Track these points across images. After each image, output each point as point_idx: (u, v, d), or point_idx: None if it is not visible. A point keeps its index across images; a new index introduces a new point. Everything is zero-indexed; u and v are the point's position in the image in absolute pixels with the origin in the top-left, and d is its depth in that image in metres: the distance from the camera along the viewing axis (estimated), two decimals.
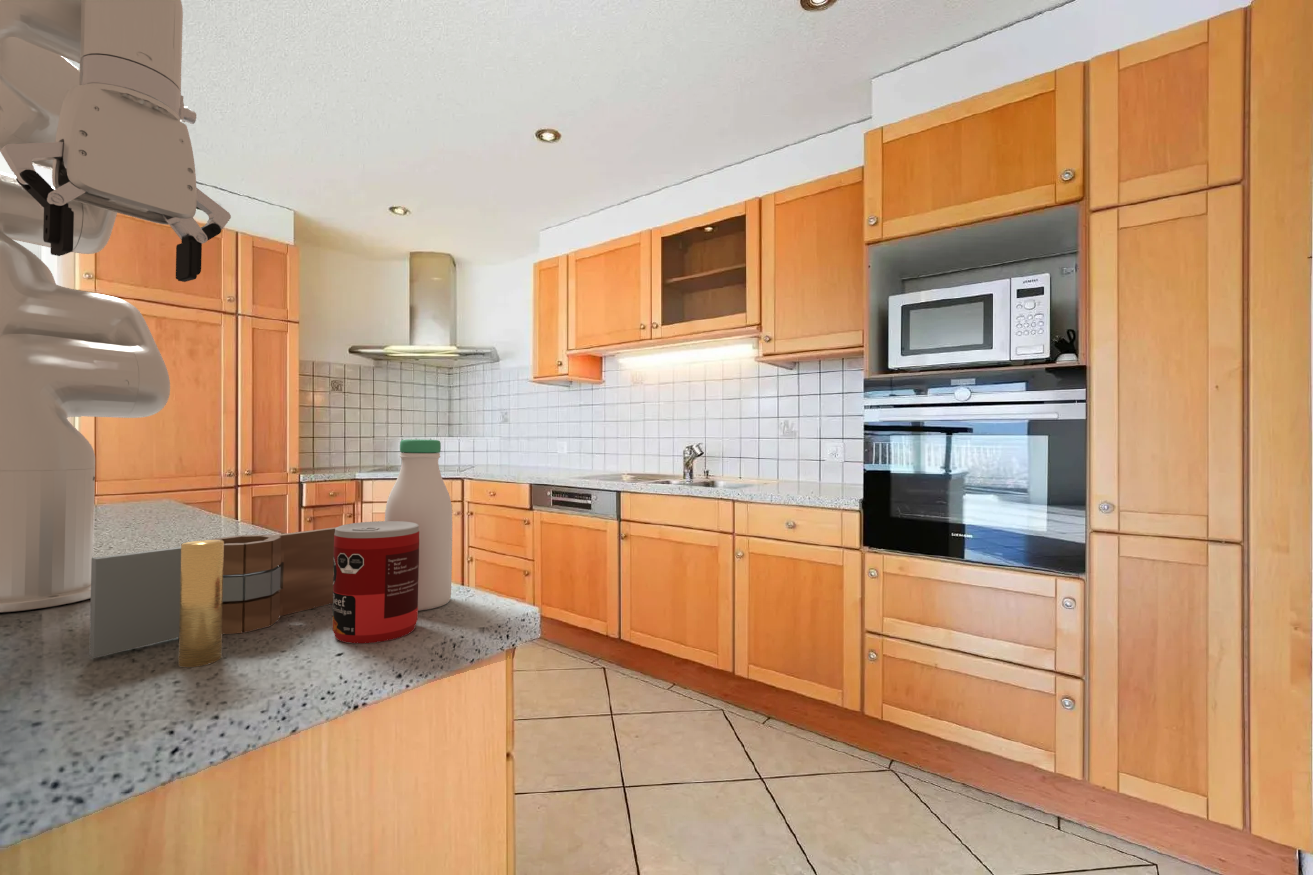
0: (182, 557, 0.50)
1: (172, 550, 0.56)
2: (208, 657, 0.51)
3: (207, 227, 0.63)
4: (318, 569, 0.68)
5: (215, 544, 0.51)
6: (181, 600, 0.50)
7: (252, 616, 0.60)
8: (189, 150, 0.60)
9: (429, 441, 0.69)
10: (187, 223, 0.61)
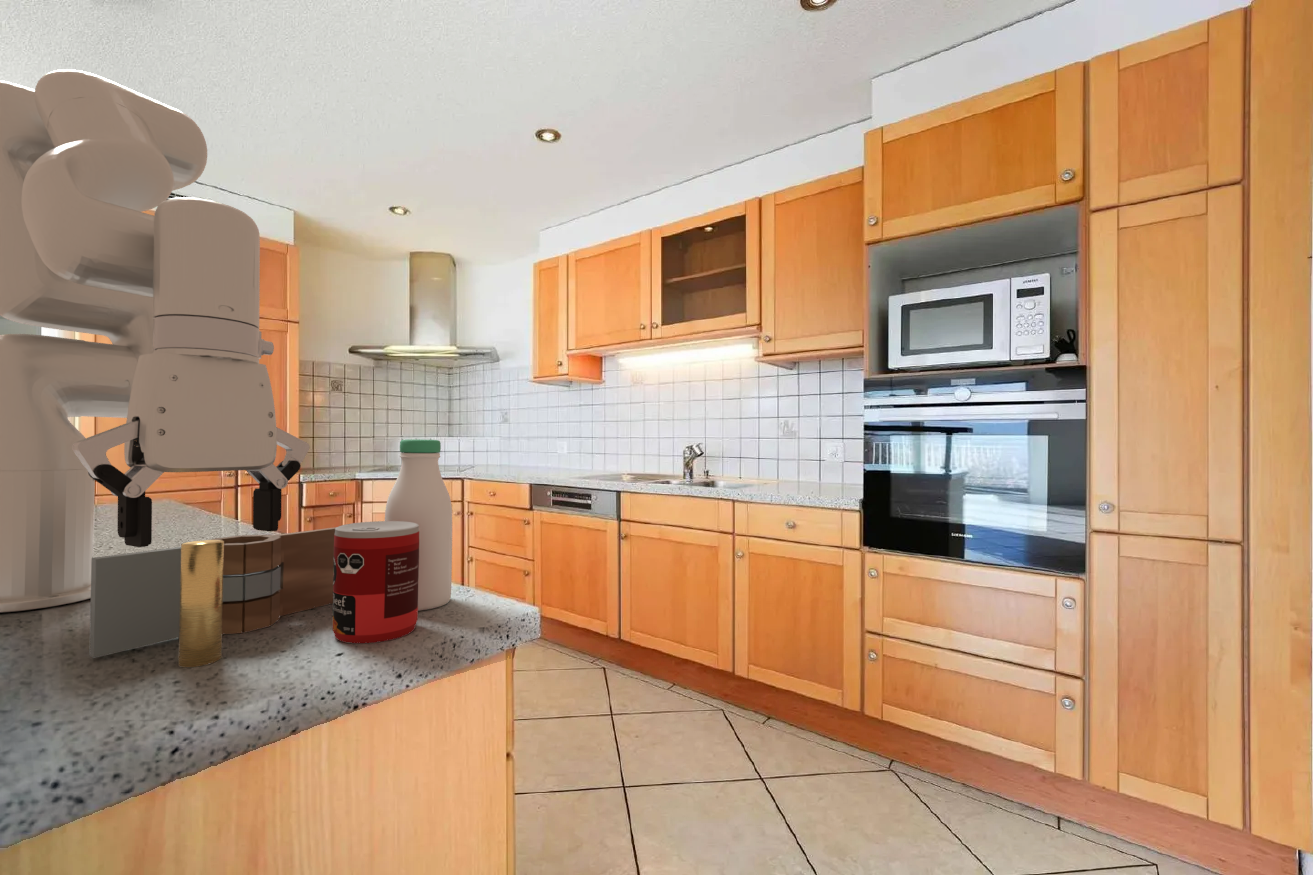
0: (182, 557, 0.50)
1: (172, 550, 0.56)
2: (208, 657, 0.51)
3: (286, 467, 0.57)
4: (318, 569, 0.68)
5: (215, 544, 0.51)
6: (181, 600, 0.50)
7: (252, 616, 0.60)
8: (269, 392, 0.54)
9: (429, 441, 0.69)
10: (267, 471, 0.55)
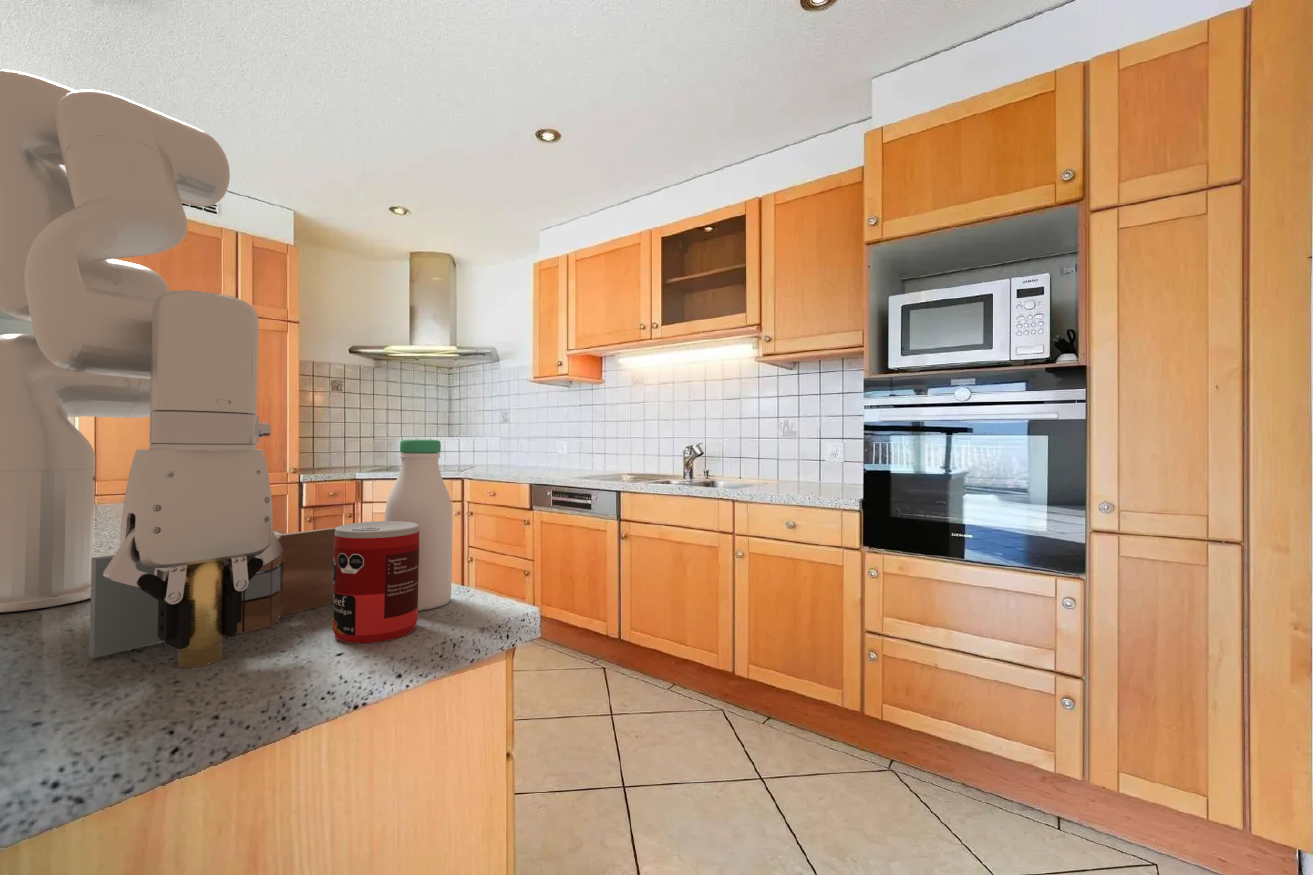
0: None
1: None
2: (208, 657, 0.51)
3: (248, 566, 0.54)
4: (318, 569, 0.68)
5: None
6: None
7: (252, 616, 0.60)
8: (265, 477, 0.54)
9: (429, 441, 0.69)
10: (236, 567, 0.53)
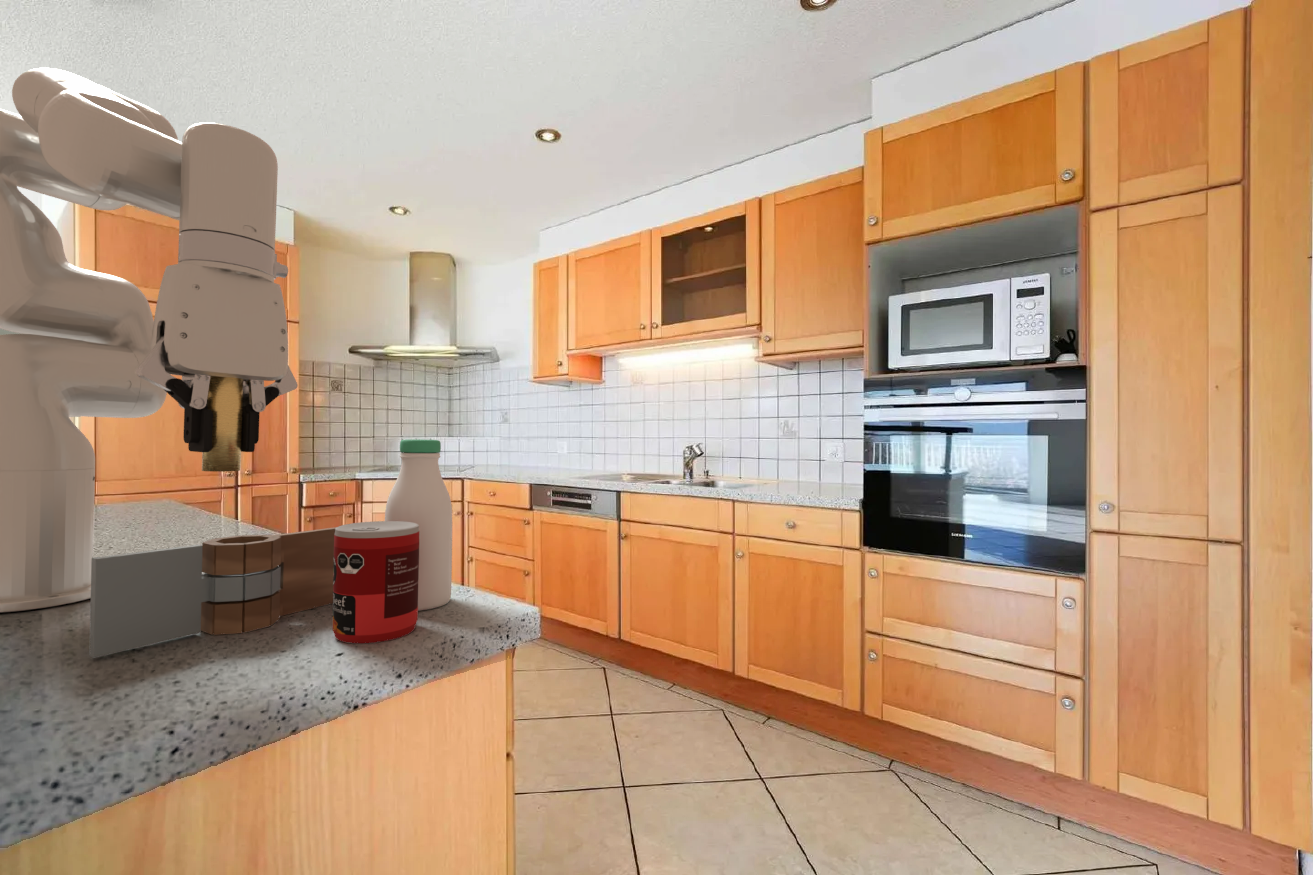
0: None
1: (172, 550, 0.56)
2: (228, 465, 0.55)
3: (265, 392, 0.59)
4: (318, 569, 0.68)
5: None
6: None
7: (252, 616, 0.60)
8: (282, 310, 0.59)
9: (429, 441, 0.69)
10: (255, 389, 0.57)
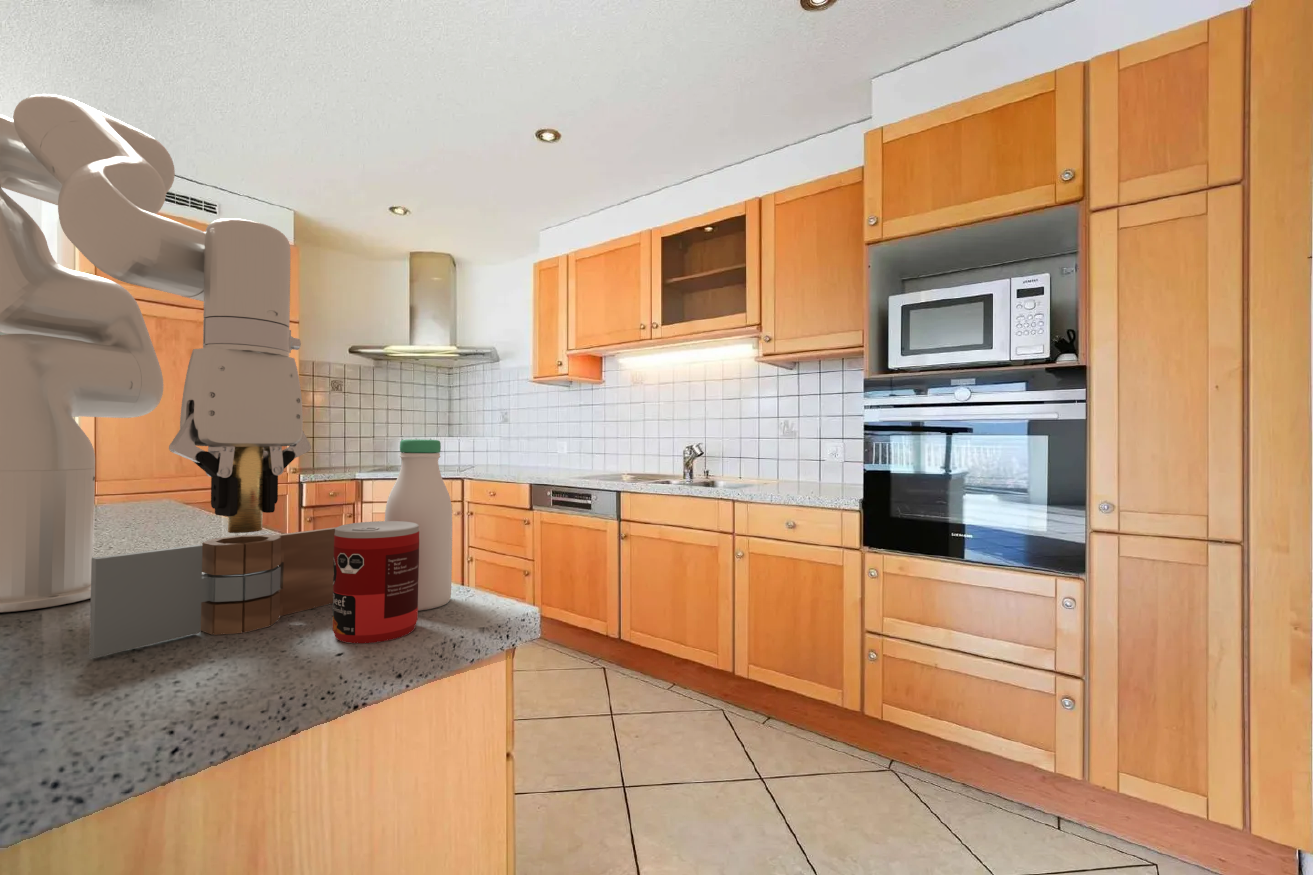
0: None
1: (172, 550, 0.56)
2: (252, 526, 0.61)
3: (282, 456, 0.64)
4: (318, 569, 0.68)
5: None
6: None
7: (252, 616, 0.60)
8: (297, 381, 0.64)
9: (429, 441, 0.69)
10: (274, 455, 0.63)
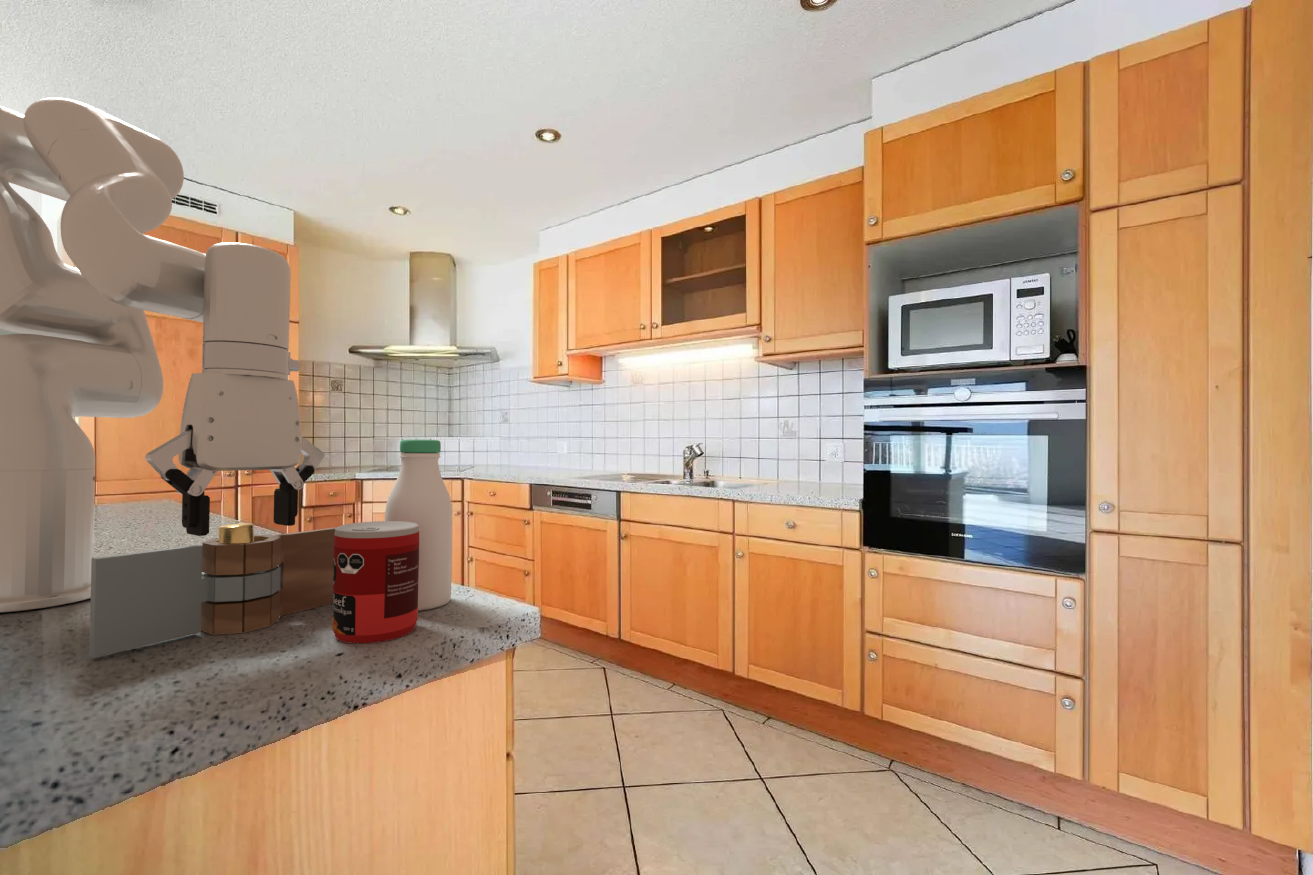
0: (220, 538, 0.60)
1: (172, 550, 0.56)
2: None
3: (302, 471, 0.66)
4: (318, 569, 0.68)
5: (247, 526, 0.61)
6: None
7: (252, 616, 0.60)
8: (296, 403, 0.64)
9: (429, 441, 0.69)
10: (288, 473, 0.64)
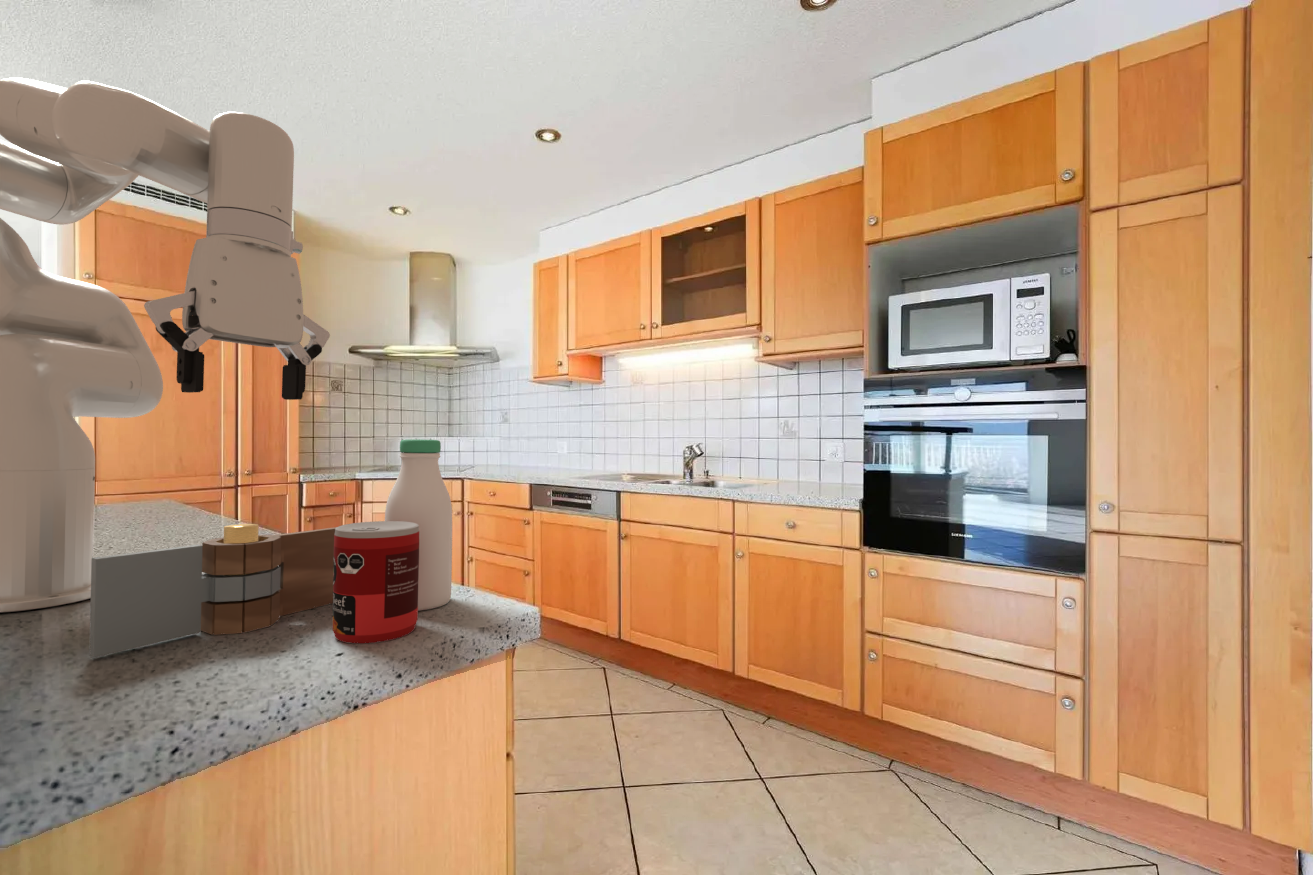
0: (225, 537, 0.60)
1: (172, 550, 0.56)
2: None
3: (310, 348, 0.68)
4: (318, 569, 0.68)
5: (252, 527, 0.61)
6: None
7: (252, 616, 0.60)
8: (298, 282, 0.65)
9: (429, 441, 0.69)
10: (295, 349, 0.66)
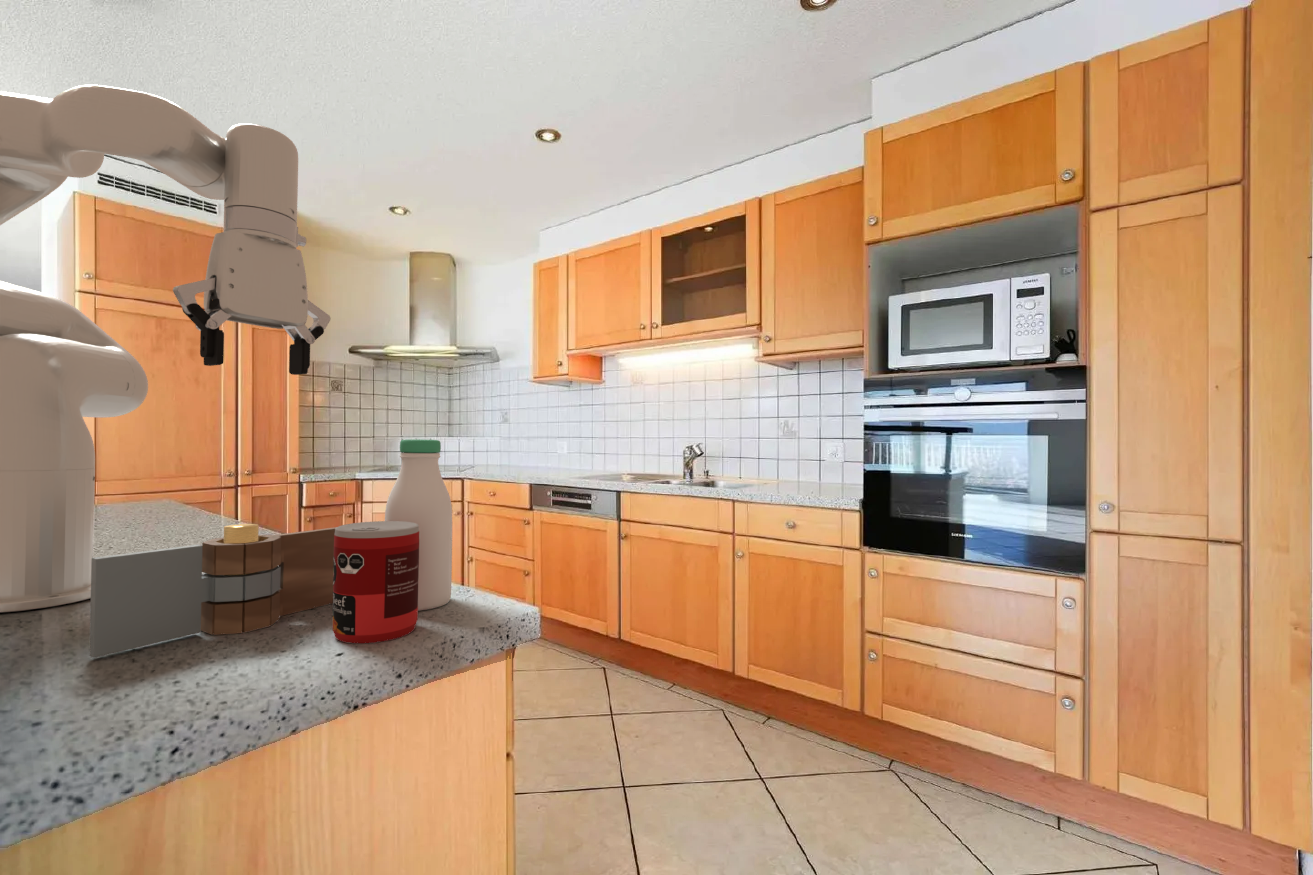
0: (225, 537, 0.60)
1: (172, 550, 0.56)
2: None
3: (314, 330, 0.77)
4: (318, 569, 0.68)
5: (252, 527, 0.61)
6: None
7: (252, 616, 0.60)
8: (303, 271, 0.74)
9: (429, 441, 0.69)
10: (300, 329, 0.75)
